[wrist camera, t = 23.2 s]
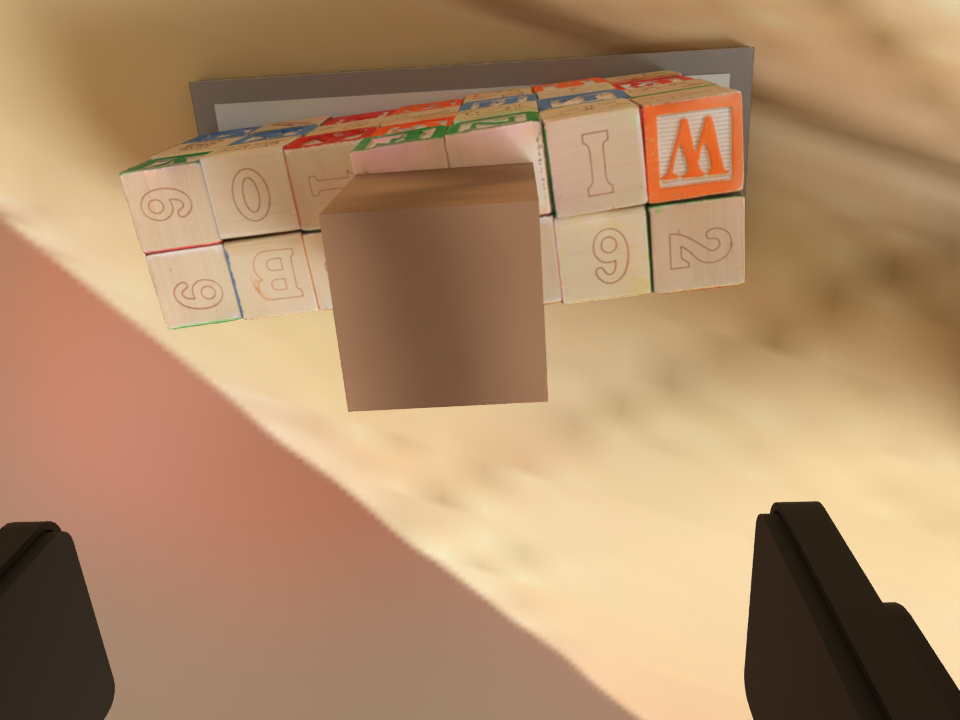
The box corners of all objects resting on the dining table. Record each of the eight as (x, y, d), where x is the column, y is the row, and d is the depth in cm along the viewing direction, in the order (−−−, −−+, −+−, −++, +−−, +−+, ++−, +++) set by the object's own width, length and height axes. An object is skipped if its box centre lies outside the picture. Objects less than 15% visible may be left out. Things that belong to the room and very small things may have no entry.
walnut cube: (533, 162, 26) (538, 200, 21) (540, 329, 28) (547, 401, 23) (355, 174, 26) (318, 214, 21) (377, 338, 28) (348, 411, 23)
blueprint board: (748, 46, 37) (754, 47, 36) (734, 263, 41) (740, 270, 40) (196, 80, 38) (188, 82, 37) (234, 288, 42) (227, 295, 41)
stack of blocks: (235, 263, 40) (129, 361, 29) (201, 131, 38) (71, 183, 27) (679, 206, 39) (750, 287, 27) (673, 65, 36) (748, 90, 25)
